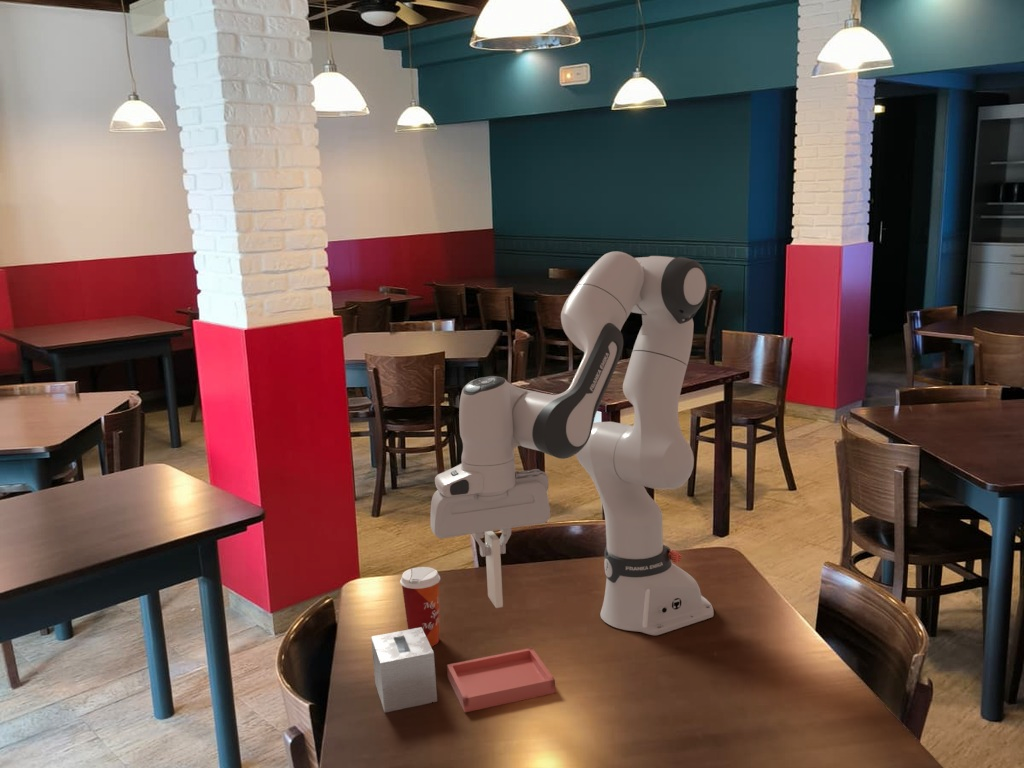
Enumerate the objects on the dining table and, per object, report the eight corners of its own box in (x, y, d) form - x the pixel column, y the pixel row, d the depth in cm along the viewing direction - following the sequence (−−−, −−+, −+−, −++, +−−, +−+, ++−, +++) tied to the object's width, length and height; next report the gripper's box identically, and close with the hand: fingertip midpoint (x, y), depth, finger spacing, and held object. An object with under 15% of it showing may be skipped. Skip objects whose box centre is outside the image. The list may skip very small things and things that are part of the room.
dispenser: (425, 673, 160) (421, 627, 158) (437, 701, 151) (433, 652, 149) (375, 683, 158) (371, 636, 156) (384, 712, 148) (380, 663, 146)
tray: (532, 660, 163) (532, 647, 162) (555, 692, 152) (554, 679, 151) (447, 677, 158) (446, 664, 158) (464, 712, 147) (463, 698, 147)
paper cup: (438, 652, 168) (433, 582, 165) (399, 650, 169) (393, 581, 166) (449, 632, 175) (444, 566, 172) (412, 630, 177) (407, 564, 174)
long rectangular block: (494, 595, 154) (491, 529, 152) (502, 606, 150) (499, 539, 147) (487, 596, 154) (484, 530, 152) (496, 608, 149) (492, 540, 147)
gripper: (541, 462, 153) (544, 538, 156) (425, 478, 148) (430, 556, 150) (554, 472, 148) (557, 551, 150) (433, 488, 142) (438, 570, 144)
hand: (492, 554), depth 150 cm, fingers closed on long rectangular block, 1 cm apart
